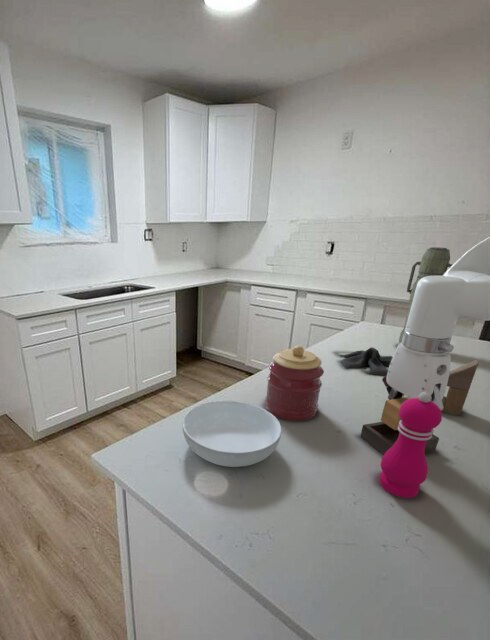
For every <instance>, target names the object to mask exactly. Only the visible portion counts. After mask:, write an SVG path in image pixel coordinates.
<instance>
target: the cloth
mask: <svg viewBox="0 0 490 640" xmlns="http://www.w3.org/2000/svg"><path fill="white" fill-rule="evenodd" d="M339 357H340V358H343V359H341V360H340V363H341V364H342V366H343V368H344V369H345V370H349V369H357V368H359V369H360V368H363V370H364V371H363V372H364V373H365V374H366V375H377V376H378V375H379V376H386V375H387V373H388V369H387V368H389V366H390V363H391V360H392V358H393V355H385V356H381V354H380V352H379V350H378V349H376V347H375V348H374V347H369V348H368V349H366V350H363V349H362V350H356V351H352V352H350V353H345V354H339ZM368 368H370V370H367V369H368ZM365 370H366V371H365Z"/></svg>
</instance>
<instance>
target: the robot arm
mask: <svg viewBox="0 0 490 640" xmlns="http://www.w3.org/2000/svg"><path fill="white" fill-rule="evenodd" d="M458 319H469V320H477V321H484V322H485V321H487V322H489V321H490V236H489V237H487V238H485V239H483V240H482V241H480V242H478V243H477V244H475V245H473V246H472V247H471V248H470V249H469V250H467V251H466V252H465V253H463V254H462V256H460V257H459V258H458V259H457V260H456V261H454V263H453V265H452V266H451V267H448V268H447V271H446V272H445V274H444V275H443V276H426V277H423V278H422V279H420V280H419V282H418V283H417V286H416V290H415V294H414V297H413V301H412V305H411V309H410V313H409V316H408V320H407V324H406V328H405V331H404V335H403V339H402V342H401V343H399V342H398V344H397V347H396V349H395V351H394V353H393V355H392V357H393V358H392V360H391V363H390V366H389V367H388V369H387V370H388V373H387V375H384V377H382V379H381V382H383V385H384V386H385V388H386V391H387V393H388V395H387V400H392V399H399V398H405V397H404V396H406V397H410V398H419V394H420V393H422V392H427V393H429V394H430V395H431V397H432V398H431V401H432V402H433V403H435V404H436V405H437V406H438V407H439V408H440V410H443V409H444V407H443V403H442V399H443V397H444V396H445V394H446V390H447V387H448V386H447V383H448V378H449V373H450V371H451V363H452V356H451V354H450V353H452V352H453V351H454V349H455V346H454V345H453V344H452V343H451V341H452V338H453V336H454V332H455V328H456V326H457V323H458Z"/></svg>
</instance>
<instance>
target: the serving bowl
mask: <svg viewBox="0 0 490 640" xmlns="http://www.w3.org/2000/svg"><path fill="white" fill-rule="evenodd" d="M181 427H182V435H183V437H184V439H185V441H186V443H187V445H188V447H189V448H190V449H191V450H192V451H193V452H194V453H195V454H196V455H197V456H199V458H201V459H203V460H205V461H207V462H209V463H211V464H214V465H218V466H222V467H229V468H238V467H239V468H241V467H247V466H252V465H255V464H258V463H260V462H262V461H264V460H266V458H268V457H269V456H271V454H273V452H274V451H275V450H276V448H277V446H278V444H279V443H280V440H281V437H282V433H283V431H282V430H283V429H282V425H281V423H280V421H279V420H278V417H276V416H274V415H272V414H271V413H270V412H269V411H268V410H267V409H265V408H263V407H260V406H258V405H256V404H252V403H249V402H244V401H239V400H213V401H207V402H203V403H201V404H200V403H199V404H198V405H195V406H194V407H192V408H190V409H189V410H188V411H187V412H186V413H185V414H184V416H183V417H182V421H181Z"/></svg>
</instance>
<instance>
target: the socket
mask: <svg viewBox="0 0 490 640" xmlns="http://www.w3.org/2000/svg"><path fill="white" fill-rule="evenodd" d="M398 437H399V430H394V429H392V428H391V427H389V426H388V425H387V424H385V423H384V422H382V421H377V422H372V423H371V422H370V423H364V424H362V428H361V433H360V438H361V440H362V441H365V442H366V444H368V445H369V446H371V447H372V448H373V449H375V450H376V451H377V452H378V453H379V454H381V455H382V456H384V454H385V453H386V452H387V451H388V450H389V449H390V448H391V447H392V446H393V445H394V444H395V442H396V441H397V439H398ZM439 441H440V437H439V436H437V435H435V434H434V433H433V434H432V438H431V439H429V440H427V442H426V445H425V454H426V453H427V454H429V453H433V452H435V451H436V450H437V447H438V444H439Z"/></svg>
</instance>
